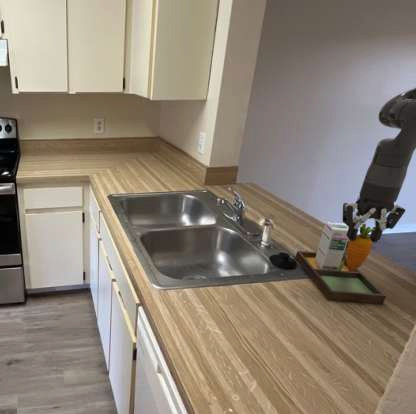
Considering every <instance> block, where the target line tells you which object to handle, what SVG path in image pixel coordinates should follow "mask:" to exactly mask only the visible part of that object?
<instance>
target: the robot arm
mask: <svg viewBox="0 0 416 414" xmlns="http://www.w3.org/2000/svg"><path fill="white" fill-rule="evenodd" d="M378 121H379V123H380V124H382V126H384V127H387V128H391V129H398V130H400V131H399V132H398V133H397V135H396V136H395V137H392V138H391V137H389V138H387V137H386V138H383V139H381V140H379V142H378V143H377V145H376V148H375V150H374V154H373V156H372V159H371V161H370V164H369V166H368V168H367V170H366V173H365V175H364V179H363V182H362V185H361V187H360V191H359V197H358V199H357V201H355V202H353V203H349V202H344V203H343V204H342V223H343V224H344V223H345V224H346V225H347V226H349V228H348V232H347V234H346V235H347V237H348V239H349V240H350V241H355V239H356V236H357V235H358V232H359V231H360V227H361V226H362V224H366V222H367V221H368V220H370V219H374V226H372V229H376V230H374V231H371V232H370V235H369V236H368V237H369V238H370V239H371V240H372V242H373V243H378V241H380V240H381V238H382V235H383V232H384V231H385V230H387V229H389V230H393V229H394V228H395V227H396V225H397V224H398V222H399V221H400V220H401V218H402V217H403V215H404V214H405V213H406V208H404V207H402V206H401V205H398V204H396V205H395V203H396V202H397V201H398V198H399V195H400V192H401V190H402V187H403V184H404V182H405V180H406V178H407V173H408V167H409V165H410V163H411V161H412V157H413V155H414V152H415V150H416V87H413V88H412V89H409V90H406V91H404V92H402V93H400V94H397V95H396V96H394V97H392V98H391V99H389V100H388V101H386V102H385V103H384V104H383V106H382V107H381V108H380V109H379V112H378Z"/></svg>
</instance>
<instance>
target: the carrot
mask: <svg viewBox="0 0 416 414" xmlns="http://www.w3.org/2000/svg"><path fill="white" fill-rule="evenodd" d="M374 230H376V229H373V228H372V227H370V226H367V223H362V224H361V226H360V227H359V234H358V233H357V236H356V239H355V241H349V245H348V249H347V255H346V261H347V266H348V270H349V271H350V272H353V271H355V270H356V269H359V268H360V267H361V266H362V265H363V264H364V262H365V261H366V259H367V258H368V256H369V255H370V252H371V249H372V247H373V244H374V242H372V240H371V239H370V238H369V237H370V235H371V232H372V231H374Z"/></svg>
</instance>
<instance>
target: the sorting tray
mask: <svg viewBox="0 0 416 414" xmlns="http://www.w3.org/2000/svg"><path fill="white" fill-rule="evenodd" d="M316 254H317V251H307V250H306V251H305V250H296V254H295V260H296V261H297V262H298V263H299V265H300V266H301V267H302V268H303V270H304V271H305V272H306V274H307V275H308V276H309V278H310V279H311V280H312V281H313V283H314V284H315V285H316V286H317V288H318V289H319V290H320V292H321V293H322V294H323V296H324V297H325V298H326V300H328V301H339V302H348V303H349V302H351V303H362V304H363V303H364V304H376V305H383V304H384V302H385V300H386V297H387V295H386V294H385V293H384V292H383V291H382V290H381V289H380V288H379V287H377V286H376V285H375V284H374V282H372V280H371V279H369V277H367V276H366V275H365V274H364V273H363V272H362V271H361V270H360V269H359V268H358V269H356V270H355V271H353V272H350V271H349V270H348V266H347V261H346V258H347V257H346V258H345V261H344V264H343V267H342V270H341V271H338V270H324V269H320V268H319V266H318V265H317V263H316V262H315V258H316Z"/></svg>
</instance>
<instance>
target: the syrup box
mask: <svg viewBox="0 0 416 414" xmlns="http://www.w3.org/2000/svg"><path fill="white" fill-rule="evenodd" d="M348 228H349V226H347V225H346V224H345V223H343V222H331V221H326V222H325V223H324V227H323V230H322V234H321V238H320V242H319V244H318V248H317V251H316V252H317V254H316V258H315V262H316V263H317V265H318V266H319V268H320V269H324V270H338V271H341V270H342V267H343V264H344V261H345V258H347V249H348V245H349V241H350V240H349V239H348V237H347V235H346V234H347V232H348Z"/></svg>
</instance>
